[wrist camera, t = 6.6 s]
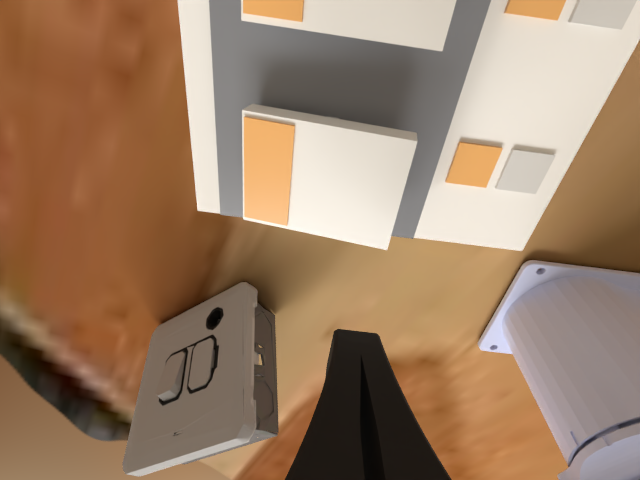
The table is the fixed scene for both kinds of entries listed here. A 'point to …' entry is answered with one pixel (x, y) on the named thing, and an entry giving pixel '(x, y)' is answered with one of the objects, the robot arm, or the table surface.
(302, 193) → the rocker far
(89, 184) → the table surface
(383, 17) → the rocker near
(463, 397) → the table surface
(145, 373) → the electrical switch
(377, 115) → the switch unit
